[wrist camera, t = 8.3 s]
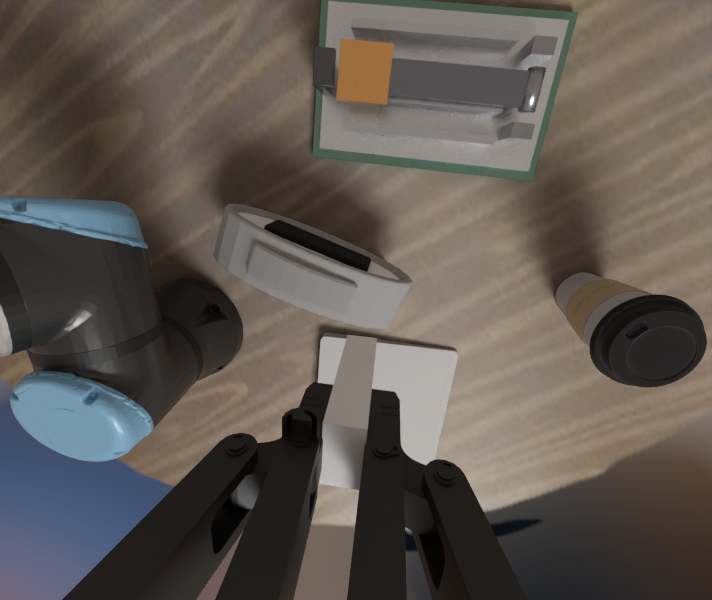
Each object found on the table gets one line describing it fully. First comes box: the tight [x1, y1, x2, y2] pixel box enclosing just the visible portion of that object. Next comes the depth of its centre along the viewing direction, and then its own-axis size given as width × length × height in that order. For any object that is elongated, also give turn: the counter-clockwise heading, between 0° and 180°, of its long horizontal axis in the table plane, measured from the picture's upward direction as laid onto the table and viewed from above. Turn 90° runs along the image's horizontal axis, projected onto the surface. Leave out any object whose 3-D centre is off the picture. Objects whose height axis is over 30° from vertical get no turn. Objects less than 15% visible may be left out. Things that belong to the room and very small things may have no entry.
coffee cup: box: [555, 272, 707, 387], centre depth 39 cm, size 9×9×15 cm
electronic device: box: [318, 332, 458, 483], centre depth 56 cm, size 29×20×2 cm
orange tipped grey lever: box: [336, 39, 546, 113], centre depth 34 cm, size 19×5×2 cm, turn 84°
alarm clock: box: [214, 204, 412, 329], centre depth 42 cm, size 23×6×13 cm, turn 68°
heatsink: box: [313, 0, 578, 181], centre depth 36 cm, size 26×16×8 cm, turn 84°
